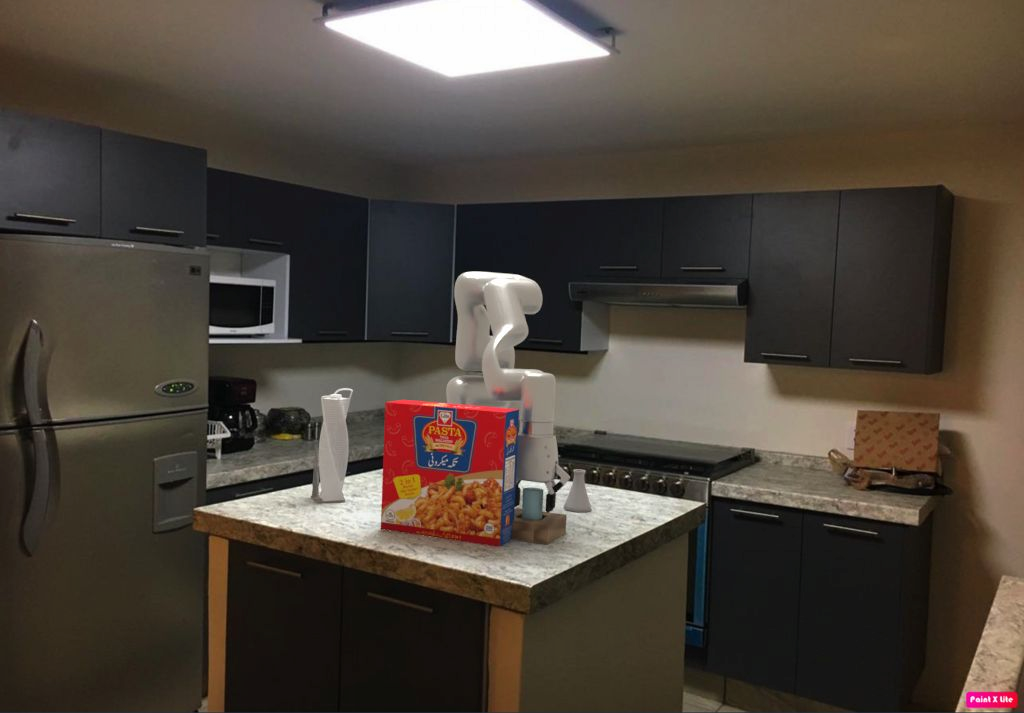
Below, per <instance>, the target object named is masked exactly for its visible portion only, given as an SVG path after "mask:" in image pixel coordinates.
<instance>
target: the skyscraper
mask: <svg viewBox="0 0 1024 713" xmlns="http://www.w3.org/2000/svg"><path fill="white" fill-rule="evenodd" d="M342 391H349V392H350V393H349V397H343V396H342V394H339V392H342ZM353 392H354V390H353V389H352V388H349V387H343V388H338V389H337V390H336V391H334V393H333V394H332V393H331V394H329V395H322V396H321V397H320V401H321V411H322V420H323V422H322V425H321V430H320V436H319V444H318V447H316V449H315V450H316V451H315V453H316V454H315V455H314V458H315V460H314V465H313V475H312V483H311V484H312V490H311V495H310V498H311V499H312V500H313V501H314V503H316V504H333V503H334V504H335V503H346V499H345V496H344V492H343V487H344V483H345V478H346V474H347V468H348V460H349V446H350V445H349V433H348V425H347V420H346V419H347V417H348V412H349V411H348V410H349V407H350V403H351V399H352V396H353ZM319 485H320V488H319ZM319 489H321V490H319Z"/></svg>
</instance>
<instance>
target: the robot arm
mask: <svg viewBox="0 0 1024 713" xmlns="http://www.w3.org/2000/svg"><path fill="white" fill-rule="evenodd" d="M453 290H454V291H453V292H454V295H453V296H454V302H455V306H456V307H455V308H456V311H457V312H456V313H457V327H456V328H457V329H456V340H455V342H456V343H455V353H454V354H455V356H454V357H455V358H454V360H455V364H456V366H457V367H458V368H459V369H460V370H463V371H468V372H482V375H469V374H468V375H466V374H465V375H457V376H455V377H452V378H451V379H450V380H449V381H448V383H447V384H446V390H445V392H446V401H447V402H446V403H449V404H461V405H473V406H485V407H497V408H509V406H510V403H520V405H519V423H518V446H517V468H516V491H515V508H517V507H518V506H520V504H521V487H520V486H519V485H520V484H521V482H522V481H524V482H532V483H542V484H544V485H545V487H546V490H547V491H548V493H547V494H546V495H545V511H544V512H550V513H551V512H552V511H554V509H555V507H556V500H557V499H556V496H557V492H559V490H561V489H562V488H563V487H564V486H565V485H566V484H567V483H568V481H570V479H571V476H570V475H569V473H568V472H566V471H565V470H564V468H562V467H561V466H560V465H559V451H558V443H557V442H558V441H557V438H556V435H554V425H555V424H554V423H555V404H556V402H555V401H556V385H557V384H556V382H557V381H556V377H555V375H554V374H552V373H549V372H544V371H542V370H540V369H535V368H533V369H532V368H529V369H528V368H515V361H516V360H515V359H516V353H515V348H514V347H516V346H517V345H519V344H521V343H522V342H524V341H525V340H526V338H527V337H528V335H529V326H528V323H527V321H526V316H525V315H535V314H536V313H538V312H539V311H540V310H541V308H542V305H543V293H542V289H541V287H540V286H539V284H538V283H537V282H536V281H535V280H533V279H531V278H528V277H526V276H524V275H520V274H514V273H503V272H493V271H492V272H491V271H466V272H465V271H464V272H462V273H461V274H460V275H458V276H457V279H456V280H455V284H454V289H453ZM490 330H491V332H492V335H490ZM558 476H559V477H560V480H559V481H558V482H557V483H556V481H555V480H556V479H557V478H558Z"/></svg>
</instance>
